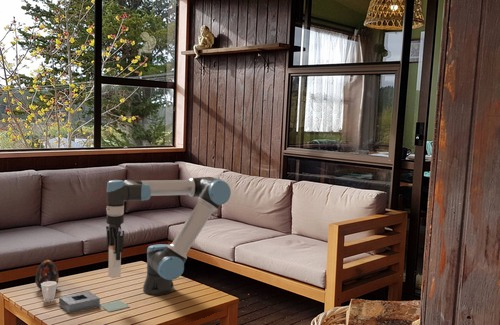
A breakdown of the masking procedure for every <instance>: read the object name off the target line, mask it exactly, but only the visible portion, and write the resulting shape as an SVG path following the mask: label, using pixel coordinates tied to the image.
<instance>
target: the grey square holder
mask: <svg viewBox="0 0 500 325" xmlns="http://www.w3.org/2000/svg"><path fill="white" fill-rule="evenodd" d="M100 303H101V298H100V297H99V296H97V295H96V294H95V293H93V292H91V291H90V290H88V291H87V290H85V291H83V292H82V291H81V292H77V293H72V294H67V295H62V296H59V298H58V305H59V307H60V306H61V307H60V308H62V310H64V311H65V312H67V313H68V314H74V313H79V312H83V311H87V310H92V309H96V308H100V307H101V306H100Z"/></svg>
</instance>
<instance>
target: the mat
mask: <svg viewBox="0 0 500 325" xmlns="http://www.w3.org/2000/svg"><path fill="white" fill-rule="evenodd" d="M100 307H101V308H102V309H103V310H105V311H106V312H108V313H112V312H115V311H121V310H123V309H124V310H125V309H128V308H130V306H129V305H128V304H126V303H125V302H123V301H121V300H120V299H118V300H114V301H110V302H105V303H101V304H100Z"/></svg>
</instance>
